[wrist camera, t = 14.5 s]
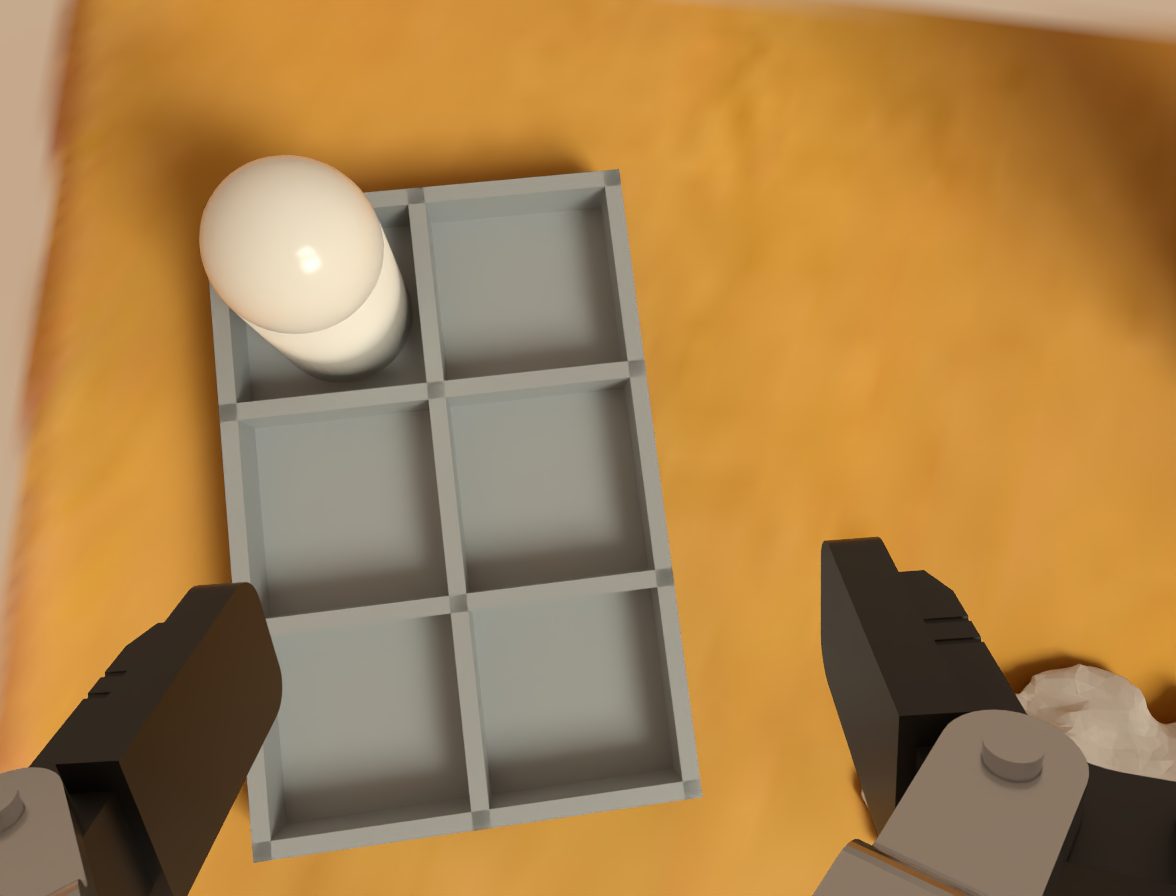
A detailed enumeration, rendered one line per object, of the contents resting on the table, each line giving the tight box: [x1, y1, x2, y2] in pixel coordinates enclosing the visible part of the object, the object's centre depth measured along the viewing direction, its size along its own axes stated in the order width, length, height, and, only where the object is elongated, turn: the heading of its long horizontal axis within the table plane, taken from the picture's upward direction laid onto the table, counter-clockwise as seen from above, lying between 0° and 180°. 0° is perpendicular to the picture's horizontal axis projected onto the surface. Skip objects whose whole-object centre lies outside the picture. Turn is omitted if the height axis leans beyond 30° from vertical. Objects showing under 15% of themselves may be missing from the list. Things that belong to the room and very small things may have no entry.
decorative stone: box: [861, 664, 1176, 809], centre depth 33 cm, size 11×4×15 cm
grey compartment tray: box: [204, 169, 702, 863], centre depth 33 cm, size 15×22×3 cm, turn 7°
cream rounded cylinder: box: [199, 155, 412, 382], centre depth 29 cm, size 5×5×10 cm
